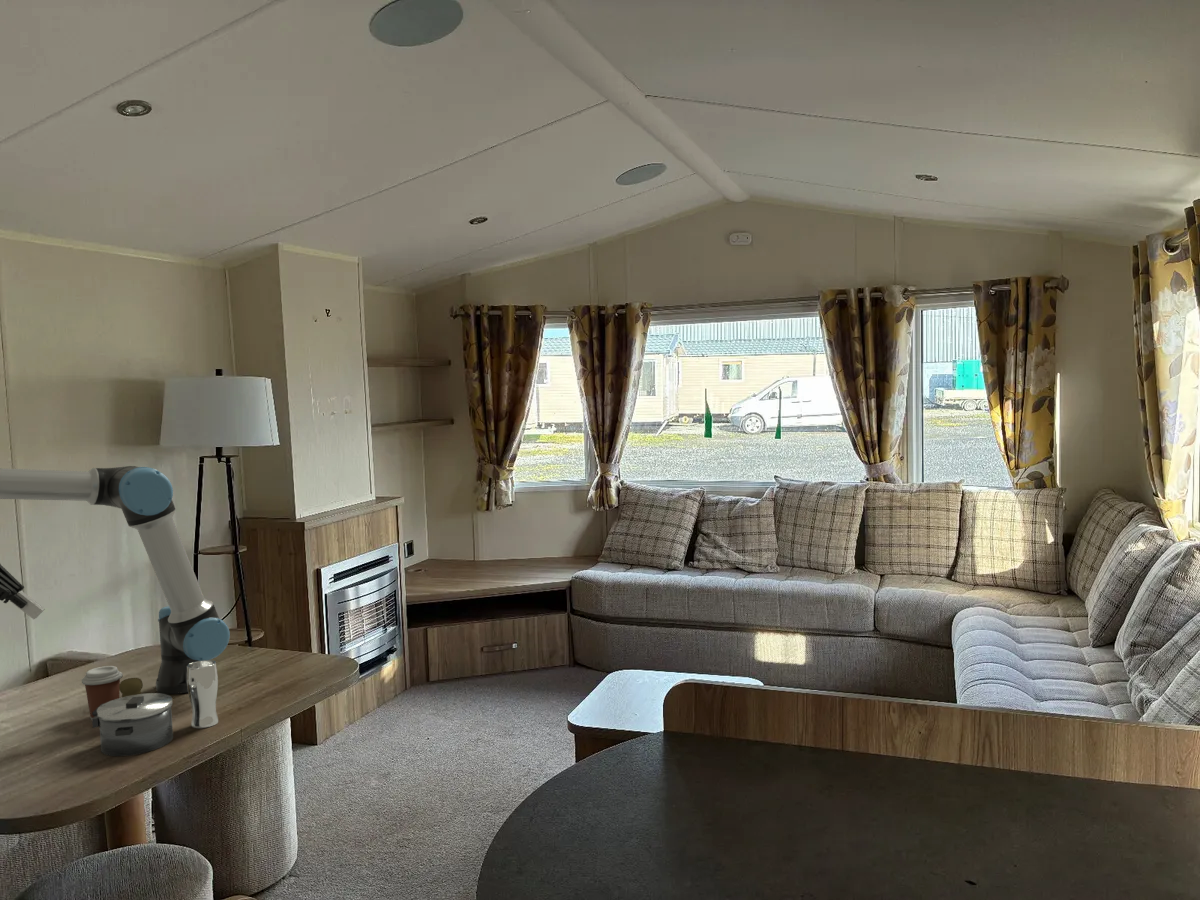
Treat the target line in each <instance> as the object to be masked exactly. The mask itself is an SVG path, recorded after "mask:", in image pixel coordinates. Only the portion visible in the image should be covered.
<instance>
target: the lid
mask: <svg viewBox="0 0 1200 900" xmlns="http://www.w3.org/2000/svg"><path fill="white" fill-rule="evenodd" d="M172 706H173V696H171V695H170V694H165V693H160V692H156V693H155V692H153V693H152V692H151V693H149V692H148V693H141V694H137V695H131V696H126V697H122V696H121V697H119V698H118V699H115V700H112V701H109V702H107V703H105V704H101V705H100V706H99V707H98V708H97V709H96V710H95V711H93V713H92V715H93V716H97V717H98V718H99V719H100V720H103V721H111V722H120V721H131V720H137V719H142V718H146V717H150V716H154V715H156V714H159V713H162V712H164V711H166V710H167V709H169V708H170V707H171V708H172Z"/></svg>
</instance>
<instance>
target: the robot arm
mask: <svg viewBox="0 0 1200 900" xmlns="http://www.w3.org/2000/svg"><path fill="white" fill-rule="evenodd" d="M173 496H174V489H173V485H172V482H171V481H170V479H169V478H168V477H167V476H166V475H165V474H164V473H163V472H161V471H160V470H158V469H156V468H153V467H149V466H135V465H128V466H127V465H126V466H118V467H116V466H115V467H93V468H91V469H90V470H89V471H87V470H85V471H81V470H78V471H77V470H55V469H52V470H51V469H30V468H29V469H28V468H24V469H23V468H2V467H1V468H0V500H29V501H30V500H31V501H33V500H34V501H36V500H37V501H38V500H39V501H79V502H80V501H81V502H82V501H83V502H88V504H90V505H94V506H98V505H99V506H106V507H107V506H108V507H112V508H117V509H121V511H122V513H123V515H124V518H125V520H126V524H127V525H128V527H129V528H132V529H135V530H137V532H138V534H139V536H140V540H141V542H142V544H143V546H144V549H145V551H146V554H147V557H148V559H149V561H150V564H151V566H152V568H153V571H154V573H155V576H156V578H157V580H158V583H159V586H160V588H161V590H162V592H163V595H164V598H165V599H166V602H167V604H168V606H164V607H161V608H160V609H159V611H158V619H157V622H158V626H159V627H158V628H159V641H160V642H159V643H160V646H159V647H160V655H161V657H160V659H161V660H160V661H161V662H160V666H159V670H158V673H157V678H156V679H155V690H156V692H157V693H161V694H167V695H170V694H171V695H173V694H177V695H178V694H185V693H188V689H187V665H188V664H190V663H193V662H197V661H203V660H213V659H215V658H217V657H218V656H220V655H221V654H222V653H223V652H224V651H225V649H227V647H228V644H229V642H230V638H231V637H230V636H231V635H230V634H231V633H230V629H229V626H228V625H227V624H226V622H225V621H224V620H223V619H220V617H219V614H218V612H217V610H216V607H215V605H214V602H213V601H212V600H209V599H206V598H205V597H204V596H205V595H204V594H203V592H202V591H203V590H202V589H201V586H200V583H199V581H198V579H197V576H196V573H195V572H194V569H193V567H192V564H191V562H190V561H191V560H190V559H189V556H188V554H187V551H186V548H185V546H184V543H183V541H182V539H181V536H180V534H179V532H178V527H177V525H176V523H175V521H174V518H173V517H174V514H175V513H176V511H177V509H176V506H175V504H174V501H173ZM24 589H25V586H24V585H23V584H22V583H21V582H19V580H18V579H16V578H15V576H14V575H12V574H11V572H9V571H8V570H7V569H6V568H5V567H4V566H3V565H2V564H1V563H0V601H1V602H3V603H4V604H7V603H8V602H11V603H12V604H13V605H14V606H16V607H17V608H18V609H19V610H21V611H22V612H23V613H24V614H26V615H27V616H29V617H30V618H31V619H32V620H36V619H37V618H38V617H39V616H40V615H41V614H42V613H44V611H45V610H46V609H45V608H44V606H41V604H39V603H38V602H36V600H34V599H33V598H32V597H30V596H29V595H28V594H27V593H26V592H24V591H23V590H24Z"/></svg>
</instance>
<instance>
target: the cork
mask: <svg viewBox="0 0 1200 900" xmlns="http://www.w3.org/2000/svg"><path fill="white" fill-rule="evenodd" d="M143 686H144V685H143V681H142V679H141V678H139V677H129V678H125V679H123V680H120V685H119V689H120V693H121V698H122V697H126V696H131V695H137V694H142V689H143Z"/></svg>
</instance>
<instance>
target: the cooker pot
mask: <svg viewBox="0 0 1200 900" xmlns="http://www.w3.org/2000/svg"><path fill="white" fill-rule="evenodd" d="M172 712H173V711H172V706H171V707H170V708H169V709H167V710H166V711H164V712H162V713H159V714H156V715H154V716H150V717H146V718H142V719H137V720H131V721H120V722H111V721H103V720H100V719H99V718H98V717H97V716H95V717H94V718H93V719H92V720H91V722H92V723H91V725H92V728H99V736H100V737H99V738H100V751H101V753H102V754H104V755H105V756H111V757H126V756H128V757H129V756H135V755H141V754H144V753H145V754H146V753H149V752H151V751H155V750H158V749H160V748H162V747H165V746H167V745H168V744H169V743H170V742H172V741H173V738H174V729H173V728H174V727H173V714H172Z"/></svg>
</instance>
